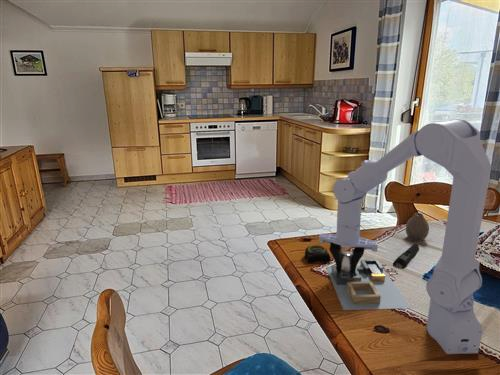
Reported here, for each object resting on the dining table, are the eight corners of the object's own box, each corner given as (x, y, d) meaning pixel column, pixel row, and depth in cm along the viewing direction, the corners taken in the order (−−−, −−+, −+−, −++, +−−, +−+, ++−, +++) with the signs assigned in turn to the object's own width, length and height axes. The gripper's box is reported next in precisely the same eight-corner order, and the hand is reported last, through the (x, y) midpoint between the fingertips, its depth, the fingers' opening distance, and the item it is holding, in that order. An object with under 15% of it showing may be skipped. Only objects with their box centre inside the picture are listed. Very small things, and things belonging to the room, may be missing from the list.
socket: (388, 283, 85) (389, 276, 84) (336, 285, 85) (337, 278, 84) (376, 265, 93) (377, 259, 93) (329, 266, 94) (329, 260, 93)
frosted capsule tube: (353, 280, 86) (354, 257, 84) (341, 281, 86) (342, 257, 84) (350, 274, 89) (351, 251, 87) (338, 274, 89) (339, 251, 87)
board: (410, 311, 75) (411, 308, 75) (343, 313, 76) (343, 309, 76) (380, 268, 94) (380, 265, 93) (325, 269, 94) (326, 266, 94)
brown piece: (380, 303, 77) (380, 296, 77) (353, 304, 77) (354, 297, 77) (371, 288, 83) (371, 281, 82) (346, 288, 83) (346, 281, 83)
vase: (400, 236, 113) (402, 212, 110) (416, 232, 115) (419, 209, 112) (415, 244, 106) (418, 219, 104) (432, 240, 108) (435, 216, 106)
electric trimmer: (422, 253, 101) (423, 244, 101) (404, 273, 91) (405, 263, 90) (409, 250, 104) (410, 241, 103) (390, 269, 93) (391, 259, 93)
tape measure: (307, 267, 96) (307, 255, 95) (303, 255, 103) (303, 244, 102) (330, 265, 96) (330, 254, 95) (324, 254, 103) (325, 243, 102)
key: (384, 281, 86) (385, 275, 85) (372, 281, 86) (372, 276, 85) (376, 269, 91) (377, 264, 91) (365, 269, 91) (365, 264, 91)
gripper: (316, 225, 83) (315, 272, 87) (377, 233, 77) (373, 284, 81) (322, 215, 89) (321, 260, 93) (380, 222, 83) (376, 269, 87)
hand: (346, 270), depth 87 cm, fingers closed on frosted capsule tube, 3 cm apart
